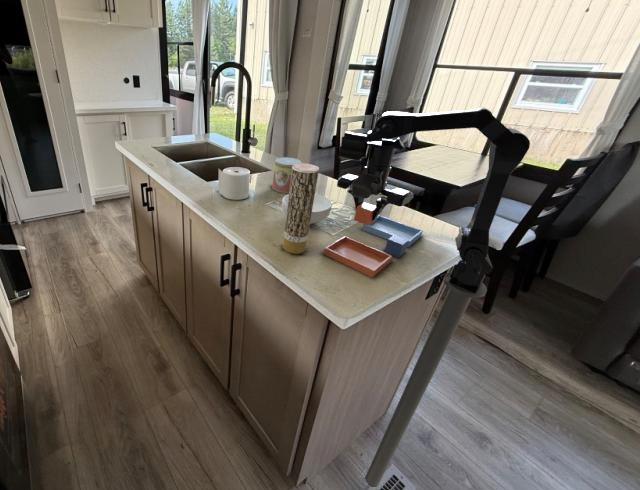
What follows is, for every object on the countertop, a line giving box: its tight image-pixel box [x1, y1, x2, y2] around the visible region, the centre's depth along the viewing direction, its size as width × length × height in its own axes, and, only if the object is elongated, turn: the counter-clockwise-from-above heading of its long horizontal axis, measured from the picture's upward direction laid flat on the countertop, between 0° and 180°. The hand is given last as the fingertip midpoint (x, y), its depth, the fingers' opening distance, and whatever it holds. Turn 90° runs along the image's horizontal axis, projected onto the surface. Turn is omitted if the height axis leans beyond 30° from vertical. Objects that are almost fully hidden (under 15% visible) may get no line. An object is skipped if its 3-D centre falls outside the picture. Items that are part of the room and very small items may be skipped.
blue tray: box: [361, 214, 424, 248], centre depth 108 cm, size 15×11×2 cm
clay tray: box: [323, 235, 393, 278], centre depth 93 cm, size 15×11×2 cm
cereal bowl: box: [282, 193, 333, 225], centre depth 113 cm, size 17×17×7 cm
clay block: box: [353, 202, 376, 225], centre depth 92 cm, size 4×4×4 cm
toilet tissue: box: [217, 166, 251, 201], centre depth 130 cm, size 11×12×10 cm
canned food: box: [271, 156, 303, 194], centre depth 138 cm, size 11×11×12 cm
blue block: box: [383, 235, 409, 259], centre depth 97 cm, size 4×4×4 cm
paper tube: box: [282, 162, 320, 255], centre depth 91 cm, size 7×7×25 cm
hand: (365, 217), depth 93 cm, fingers closed on clay block, 4 cm apart
